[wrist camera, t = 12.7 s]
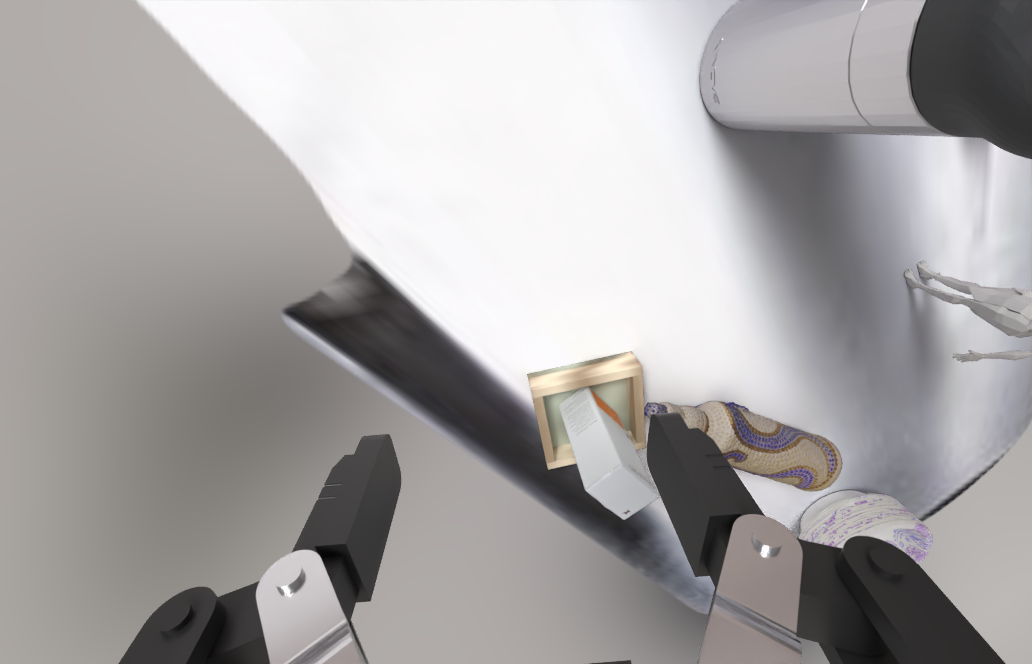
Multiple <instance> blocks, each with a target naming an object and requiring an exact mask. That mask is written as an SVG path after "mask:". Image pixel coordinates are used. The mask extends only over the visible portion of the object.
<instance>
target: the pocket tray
mask: <svg viewBox="0 0 1032 664" xmlns="http://www.w3.org/2000/svg"><path fill="white" fill-rule="evenodd" d="M527 375H528V379H529V384H530V389H531V393H532V398H533V403H534V407H535V412H536V416H537V421H538V426H539V430H540V435H541V440H542V444H543V449H544V453H545V458H546V462H547V467H548V469H553V468H557V467H562V466H566V465H571V464H576V460H575V456H574V453H573V450H572V447H571V444H570V441H569V438H568V434H567V431H566V428H565V425H564V422H563V419H562V416H561V413H560V409H559V404H561V403H562V402H563V401H564V400H566V399H567V398H568V397H570V396H571V395H572V394H573V393H575V392H576V391H577V390H578V389H580V388H582V387H587V386H589V387H590V388H591V389H592V390H593V391H594V392H595V393H596V394H597V395H598V396H599V397H600V398H601V399H602V400H604V401H605V402H606V403H607V404H608V405H609V406H610V407H611V408H612V409H613V410H615V411H616V412H617V414H618V416H619V418H620V420H621V422H622V423H623V425H624V427H625V429H626V431H627V433H628V435H629V437H630V439H631V441H632V443H633V445H634V447H635V449H636V450H639V449H644V448H646V443H645V420H644V398H643V376H642V366H641V364H640V363H639V361H638V360H637V358H636V357H635V356H634V354H633V353H632V351H630V352H626V353H621V354H617V355H612V356H608V357H603V358H599V359H594V360H590V361H585V362H580V363H576V364H571V365H567V366H562V367H558V368H553V369H549V370H544V371H540V372H535V373H530V374H527Z"/></svg>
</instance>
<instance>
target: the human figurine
mask: <svg viewBox="0 0 1032 664" xmlns="http://www.w3.org/2000/svg"><path fill="white" fill-rule="evenodd" d="M917 266H918V269H919V273H920V276H921V277H924V278H926V279H932V278H934V279H935V280H938V281H939V282H941V283H943V284H944V285H946V286H948V287H951V288H953V289H955V290H957V291H960V292H963V293H966V294H972V296H973V298H974V300H973V299H968V298H965V297H963V296H959V295H955V294H950V293H946V292H943V291H941V290H938V289H936V288H932V287H929V286H926V285H924V284H922V283H920V282H919V281H918V280H917V279H916V278H915V277H914V276H913V272H912V270H911V269H908V270H907V271H906V272H905V273H904V274H905V276H904V277H905V278H906V279H907V284H908V285H909V286H911V287H912V288H920V289H923V290H925V291H927V292H928V293H930V294H931V295H933V296H935V297H937V298H939V299H941V300H943V301H946V302H949V303H952V304H963V305H966V306H968V307H969V308H970V310H972V312H973V313H975V314H976V315H978V316H979V317H981V318H982V319H984V320H985V321H987V322H988V323H990V324H991V325H993V326H994V327H996V328H997V329H999V330H1001V331H1003V332H1004V333H1006V334H1007V335H1009V336H1016V337H1019V338H1022V337H1028V336H1032V291H1027V290H1022V289H1016V288H1012V289H1009V288H993V287H981V286H980V285H978V284H976V283H971V282H965V281H960V280H957V279H954V278H951V277H945V276H941V275H940V273H938V274H936V273H934V272H932V271H931V270H929V269H928V267H927V265H926V262H925V261H921V262H920V263H918V264H917ZM968 352H970V353H971V354H955V353H954V354H953V355H956V356H953V358H960V359H957V361H958V360H962V361H961V362H967V361H978V360H980V359H982V358H990V359H1008V360H1019V359H1023V358H1027V357H1031V356H1032V351H1008V352H998V353H990V354H980V353H976V352H973V351H971V350H968Z"/></svg>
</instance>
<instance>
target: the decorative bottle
mask: <svg viewBox="0 0 1032 664" xmlns="http://www.w3.org/2000/svg"><path fill="white" fill-rule="evenodd" d="M737 407H738V408H737ZM671 412H678V413H679V414H680V415H681V416H682V418H683V420H684V421H685V423H686V425H687V426H688V428H689V429H690V428H699V429H700V430H702V431H703V432H704V433H706V434H707V435H708V436H709V437H711V438H712V439H713V440H714V441H715V443H716V444H717V446H718V447H719V449H720V450H721V452H722V453H723V456H724V457H725V458H726V459H727V461H728V462H729V463H730V465H731V467H732V468H735V469H739V470H743V471H745V472H748V473H751V474H753V475H759V476H763V477H766V478H769V479H772V480H775V481H779V482H782V483H786V484H788V485H793V486H795V487H796V488H798V489H801V490H804V491H819V490H823V489H825V488H827V487H829V486H831V484H832V483H834V481H835V480H836V479H837V477H838V476H839V474H840V472H841V469H842V458H841V455H840V452H839V450H838V449H837V447H836V446H835V445H834V444H833V443H832V442H830V441H829V440H828V439H826V438H824V437H822V436H818V435H813V434H810V433H807V432H804V431H801V430H798V429H795V428H792V427H789V426H786V425H783V424H781V423H779V422H775V421H773V420H770V419H767V418H765V417H761V416H759V415H756V414H754V413H751V412H749V410H748V408H745V406H740V405H737V404H735V403H734V402H732V403H724V402H718V401H709V402H707V403H704V404H701V405H698V406H696V407H691V406H676V405H673V404H670V403H665V402H663V403H661V404H657V403H648V404H647V405H646V407H645V410H644V415H646V416H648V417H649V418H651V415H652V414H658V413H671Z"/></svg>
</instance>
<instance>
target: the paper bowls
mask: <svg viewBox="0 0 1032 664" xmlns="http://www.w3.org/2000/svg"><path fill="white" fill-rule="evenodd" d="M800 528H801V533H800V535H799V537H798V538H799V539H802V540H805V541H809V542H814V543H819V544H824V545H829V546H833V547H838V548H843V546H844V544H845V542H846V541H847V540H848V539H849V538H851V537H854V536H870V537H874V538H878V539H881V540H883V541H886V542H888V543H890V544H892V545H894V546H896V547H897V548H899V549H901V550H902V551H903V552H905V553H906V554H908V555H909V556H910V557H911V558H912V559H913V560H914V561H915V562H916V563H917V564H919V563H920V562H921V561H922V560H923V559H924V558H925V557H926V555H927V554H928V552H929V551H930V548H931V546H932V542H933V537H932V534H931V532H930V530H929V529H928V528H927V527H926V526H925V525H924V524H923V523H922V522H921V521H920V520H919V519H918V518H917V517H915V516H914V515H913V514H912V513H911V512H910V511H909V510H907V509H906V508H905V507H904V506H903V505H902V504H901V503H900V502H898V501H897V500H896V499H895V498H893V497H891V496H888V495H884V494H876V493H868V494H865V493H862V492H859V491H853V490H845V491H838V492H835V493H832V494H829V495H827V496H824V497H822V498H821V499H819V500H817V501H816V502H815V503H813V504H812V505H811V506H810V507H809V508H808V509H807V510H806V511H805V513H804V514H803V516H802V519H801V523H800Z"/></svg>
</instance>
